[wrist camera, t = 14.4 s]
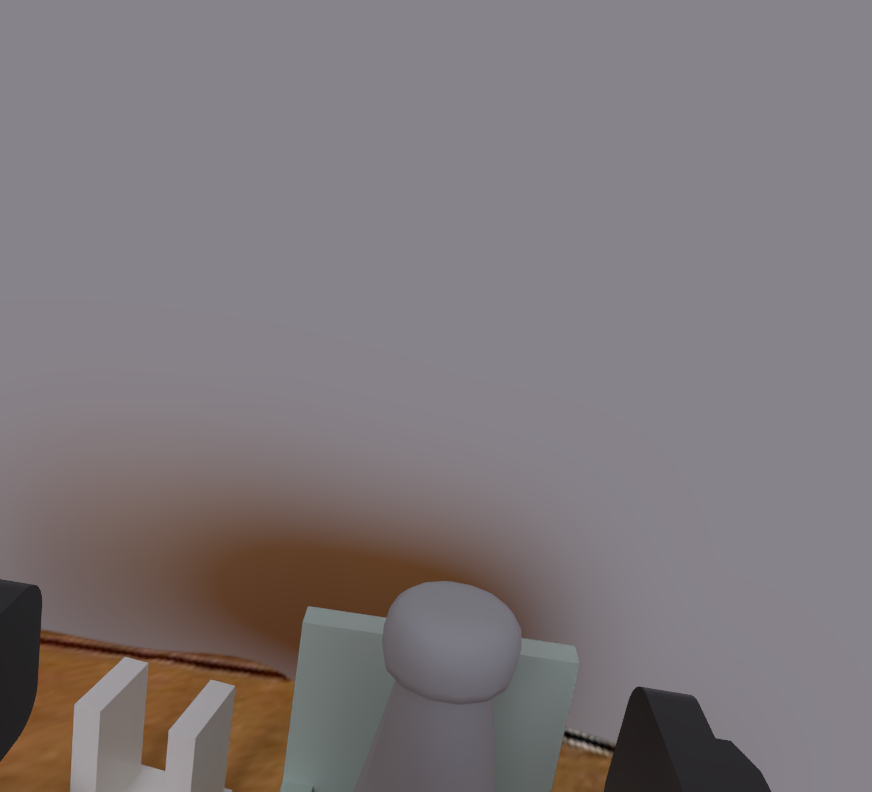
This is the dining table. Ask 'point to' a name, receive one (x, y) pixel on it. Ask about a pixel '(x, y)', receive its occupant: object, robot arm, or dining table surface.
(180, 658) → the dining table surface
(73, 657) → the dining table surface
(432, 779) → the salt shaker
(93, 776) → the clip
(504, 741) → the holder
